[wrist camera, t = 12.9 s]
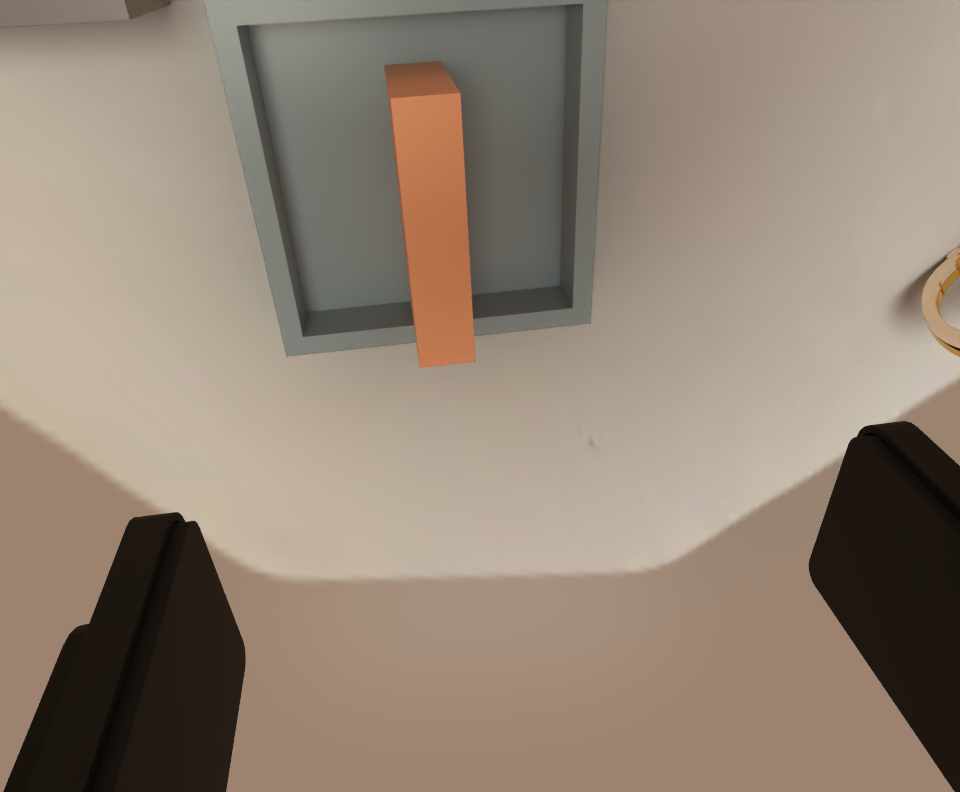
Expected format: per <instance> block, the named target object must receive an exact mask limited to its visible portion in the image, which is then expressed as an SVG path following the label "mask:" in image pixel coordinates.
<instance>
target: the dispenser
mask: <svg viewBox="0 0 960 792" xmlns="http://www.w3.org/2000/svg"><path fill="white" fill-rule="evenodd" d="M169 4H170V2H169V0H0V27H16V26H32V25H48V24H64V23H80V22H96V21H112V20H128V19H132V18H135V17H137V16H140V15H143V14H145V13H148V12H150V11H153V10H156V9H158V8H161V7H164V6H166V5H169Z"/></svg>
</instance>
